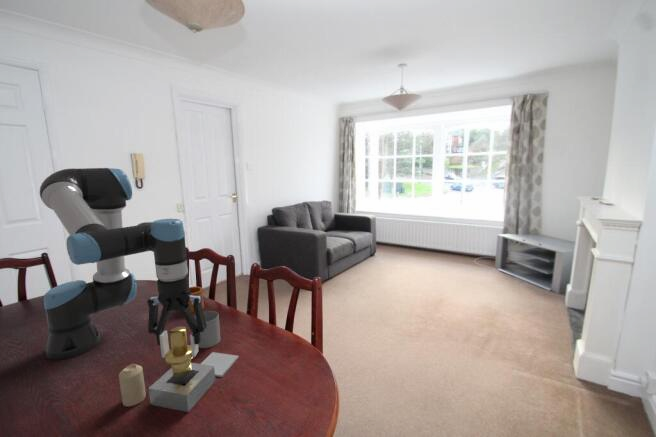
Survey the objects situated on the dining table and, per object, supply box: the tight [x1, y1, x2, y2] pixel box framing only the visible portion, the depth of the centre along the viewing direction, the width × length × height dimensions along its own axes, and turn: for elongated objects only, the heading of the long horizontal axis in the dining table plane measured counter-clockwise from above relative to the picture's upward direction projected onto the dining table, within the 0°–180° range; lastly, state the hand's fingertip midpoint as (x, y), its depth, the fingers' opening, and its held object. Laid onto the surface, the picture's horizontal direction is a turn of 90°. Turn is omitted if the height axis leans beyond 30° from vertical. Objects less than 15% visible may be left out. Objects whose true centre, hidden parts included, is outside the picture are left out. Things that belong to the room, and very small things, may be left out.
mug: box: [184, 286, 205, 314], centre depth 139 cm, size 9×12×9 cm
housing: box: [148, 362, 216, 413], centre depth 86 cm, size 12×12×5 cm
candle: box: [118, 362, 147, 408], centre depth 83 cm, size 6×6×10 cm
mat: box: [200, 351, 239, 378], centre depth 98 cm, size 10×10×1 cm
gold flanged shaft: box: [164, 326, 194, 377], centre depth 84 cm, size 8×8×13 cm
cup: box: [194, 310, 221, 349], centre depth 111 cm, size 8×8×10 cm
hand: (180, 354), depth 85 cm, fingers closed on gold flanged shaft, 8 cm apart
